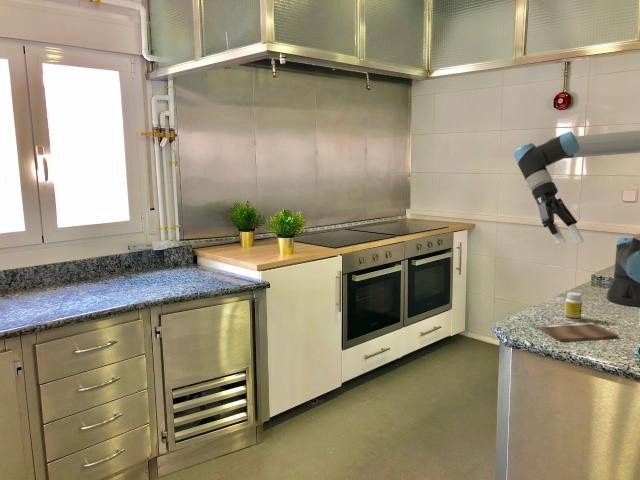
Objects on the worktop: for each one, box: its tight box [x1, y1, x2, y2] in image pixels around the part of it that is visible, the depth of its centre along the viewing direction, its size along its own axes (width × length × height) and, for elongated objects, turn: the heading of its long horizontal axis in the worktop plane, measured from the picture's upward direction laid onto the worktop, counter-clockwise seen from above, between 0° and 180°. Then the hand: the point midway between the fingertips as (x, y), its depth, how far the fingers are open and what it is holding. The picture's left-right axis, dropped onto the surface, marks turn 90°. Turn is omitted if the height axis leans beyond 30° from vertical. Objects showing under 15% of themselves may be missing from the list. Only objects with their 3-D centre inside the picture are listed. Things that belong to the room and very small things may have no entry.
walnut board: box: [536, 321, 619, 343], centre depth 152 cm, size 18×12×1 cm, turn 98°
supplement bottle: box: [563, 291, 583, 322], centre depth 165 cm, size 5×5×8 cm
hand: (570, 243), depth 166 cm, fingers open, 13 cm apart
